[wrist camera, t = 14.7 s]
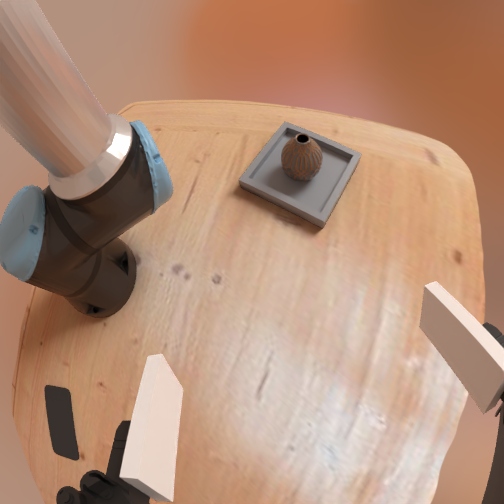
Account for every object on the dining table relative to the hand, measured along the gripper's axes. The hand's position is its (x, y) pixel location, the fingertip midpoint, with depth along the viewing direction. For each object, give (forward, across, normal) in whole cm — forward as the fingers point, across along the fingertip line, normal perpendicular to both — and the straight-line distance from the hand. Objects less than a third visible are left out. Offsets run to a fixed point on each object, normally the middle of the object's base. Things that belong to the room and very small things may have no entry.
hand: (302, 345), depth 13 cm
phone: (+16, -45, -27) cm, 55 cm away
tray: (+41, +10, -1) cm, 42 cm away
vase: (+41, +10, 0) cm, 42 cm away
